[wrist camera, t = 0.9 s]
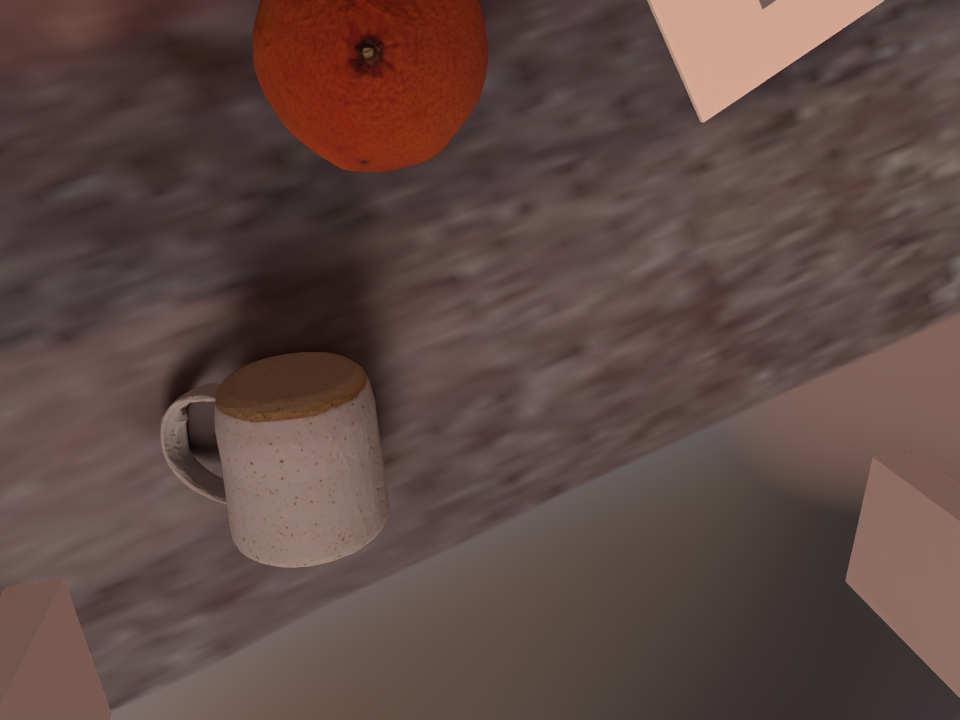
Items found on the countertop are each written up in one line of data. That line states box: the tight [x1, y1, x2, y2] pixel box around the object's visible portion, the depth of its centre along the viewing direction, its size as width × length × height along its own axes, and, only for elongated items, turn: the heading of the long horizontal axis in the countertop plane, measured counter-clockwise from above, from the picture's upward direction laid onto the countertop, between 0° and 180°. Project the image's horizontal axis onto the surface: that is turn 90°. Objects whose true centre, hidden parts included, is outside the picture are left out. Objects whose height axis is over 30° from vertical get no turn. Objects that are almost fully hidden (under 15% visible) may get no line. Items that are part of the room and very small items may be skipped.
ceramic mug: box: [160, 352, 389, 567], centre depth 33 cm, size 11×8×8 cm
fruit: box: [252, 0, 488, 172], centre depth 27 cm, size 9×9×8 cm
